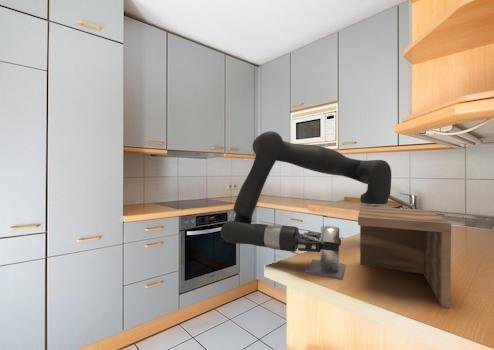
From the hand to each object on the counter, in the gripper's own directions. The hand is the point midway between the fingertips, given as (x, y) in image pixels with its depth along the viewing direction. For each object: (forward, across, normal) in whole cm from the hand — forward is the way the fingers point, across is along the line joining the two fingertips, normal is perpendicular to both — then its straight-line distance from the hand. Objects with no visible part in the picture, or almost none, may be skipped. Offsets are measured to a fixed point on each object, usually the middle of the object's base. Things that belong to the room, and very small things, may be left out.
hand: (339, 244), depth 72 cm
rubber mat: (-4, +2, +8) cm, 10 cm away
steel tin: (-3, 0, +6) cm, 7 cm away
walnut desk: (+14, +2, +8) cm, 16 cm away
